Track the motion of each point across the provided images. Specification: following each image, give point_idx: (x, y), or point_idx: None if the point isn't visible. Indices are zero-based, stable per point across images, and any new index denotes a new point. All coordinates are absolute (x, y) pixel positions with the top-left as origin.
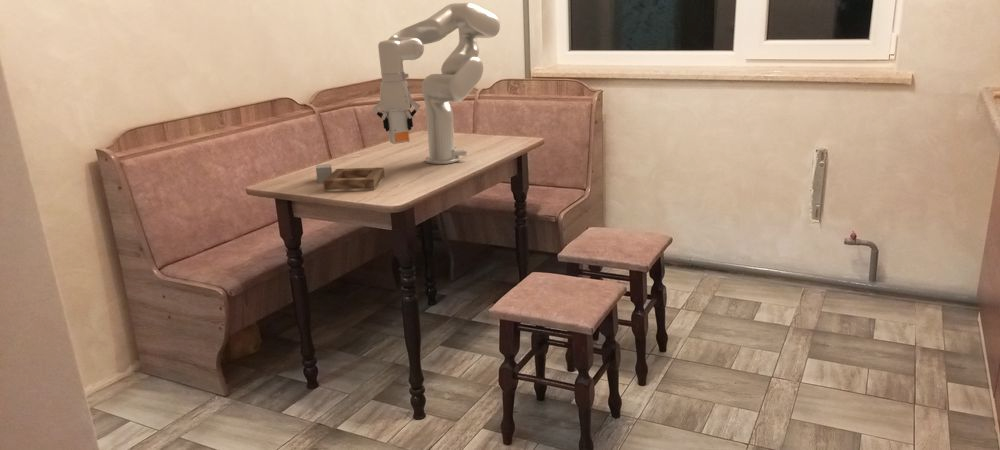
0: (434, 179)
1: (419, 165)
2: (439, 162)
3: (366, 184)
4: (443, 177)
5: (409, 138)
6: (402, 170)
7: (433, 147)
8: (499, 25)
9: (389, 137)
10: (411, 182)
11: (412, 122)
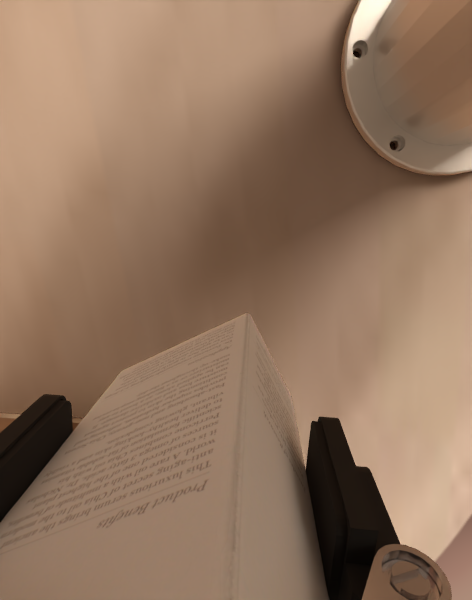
0: (388, 491)
1: (306, 171)
2: (432, 174)
3: None
4: (430, 464)
5: (294, 412)
6: (221, 285)
7: (445, 106)
8: None
9: (105, 392)
10: None
11: (379, 507)
